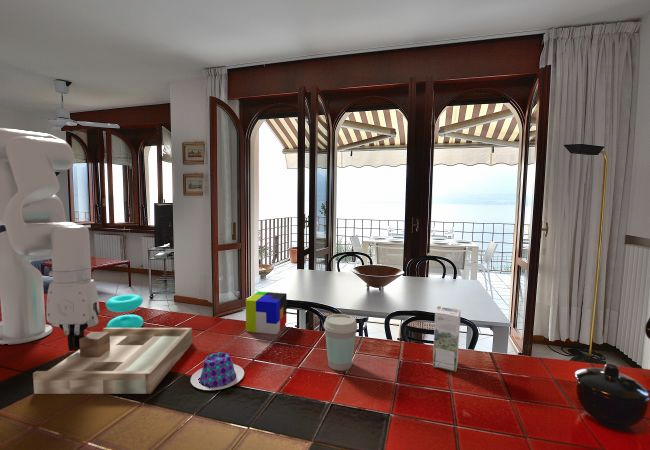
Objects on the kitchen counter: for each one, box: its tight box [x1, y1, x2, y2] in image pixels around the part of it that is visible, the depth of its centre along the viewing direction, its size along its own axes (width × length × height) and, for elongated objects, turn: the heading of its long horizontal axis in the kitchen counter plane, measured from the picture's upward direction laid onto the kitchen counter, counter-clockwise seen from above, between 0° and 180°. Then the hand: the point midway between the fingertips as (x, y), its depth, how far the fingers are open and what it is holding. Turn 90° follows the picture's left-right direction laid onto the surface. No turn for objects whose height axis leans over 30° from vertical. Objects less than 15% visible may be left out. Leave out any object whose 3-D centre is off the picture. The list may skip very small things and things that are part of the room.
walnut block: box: [79, 331, 110, 357], centre depth 86 cm, size 4×4×4 cm
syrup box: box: [432, 305, 461, 372], centre depth 88 cm, size 6×6×14 cm
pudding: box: [190, 351, 245, 391], centre depth 81 cm, size 12×12×5 cm
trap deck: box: [32, 327, 193, 395], centre depth 86 cm, size 24×25×4 cm
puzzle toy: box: [245, 291, 288, 335], centre depth 112 cm, size 10×10×10 cm
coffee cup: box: [323, 313, 359, 371], centre depth 87 cm, size 8×8×12 cm
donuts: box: [105, 293, 144, 328], centre depth 109 cm, size 10×10×10 cm
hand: (76, 348), depth 86 cm, fingers closed
